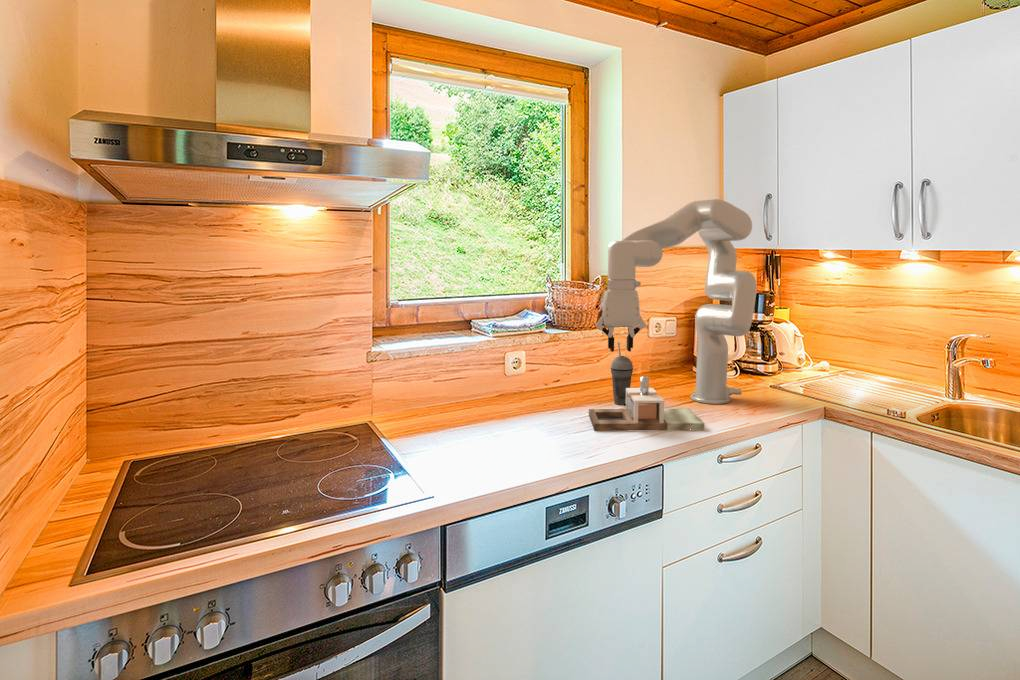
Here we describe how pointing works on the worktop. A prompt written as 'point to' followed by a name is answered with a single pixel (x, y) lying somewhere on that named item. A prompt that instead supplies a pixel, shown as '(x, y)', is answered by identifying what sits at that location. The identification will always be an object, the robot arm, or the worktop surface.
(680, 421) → the board
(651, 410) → the block
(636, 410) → the toy bench
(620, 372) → the beverage cup
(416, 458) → the worktop surface
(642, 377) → the slider
